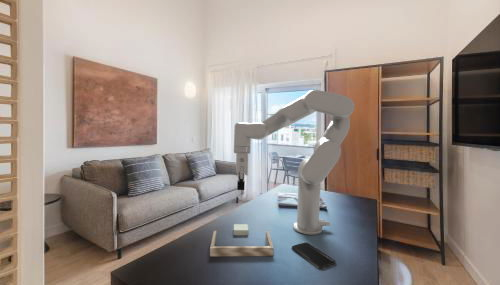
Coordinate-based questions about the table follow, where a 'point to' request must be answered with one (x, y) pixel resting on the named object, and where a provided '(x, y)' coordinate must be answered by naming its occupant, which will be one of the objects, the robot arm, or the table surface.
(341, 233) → the table surface
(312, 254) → the phone
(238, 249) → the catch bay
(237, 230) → the sage tile
